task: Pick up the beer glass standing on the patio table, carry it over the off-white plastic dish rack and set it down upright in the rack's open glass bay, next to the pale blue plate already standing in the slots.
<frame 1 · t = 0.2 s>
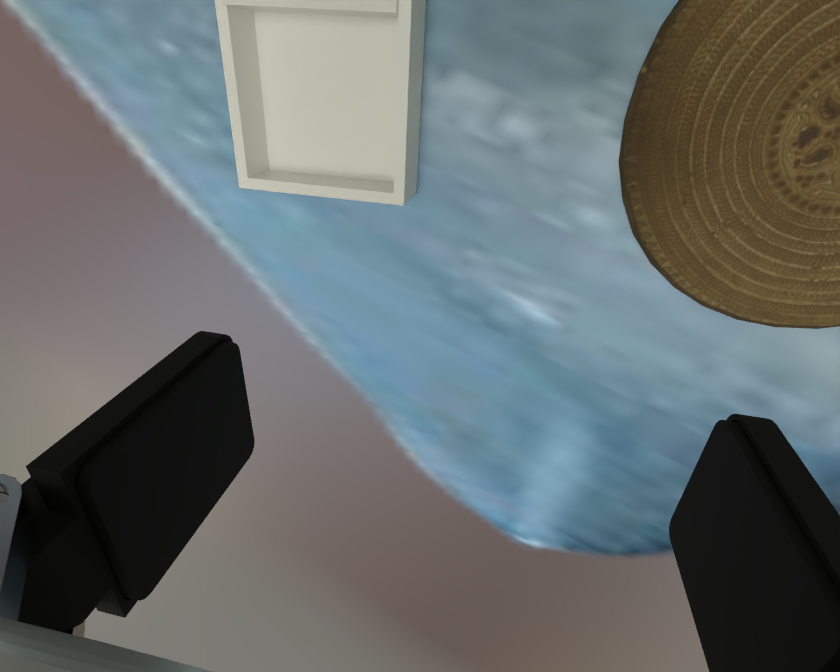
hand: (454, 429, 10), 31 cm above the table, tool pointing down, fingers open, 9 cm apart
rack: (335, 26, 34), on the table
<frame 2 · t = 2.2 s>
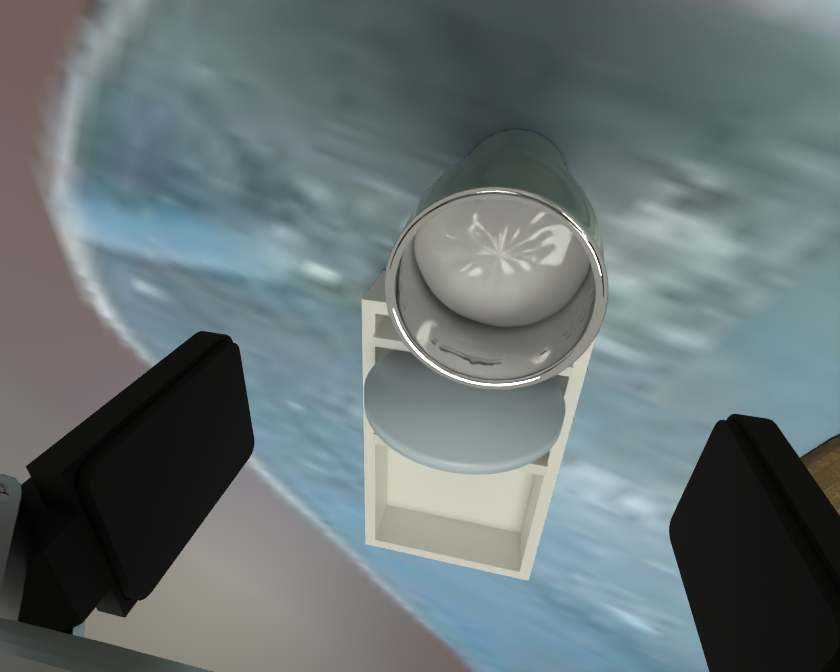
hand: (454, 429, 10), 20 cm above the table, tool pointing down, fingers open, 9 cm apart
beer glass: (512, 186, 27), on the table
rack: (465, 417, 35), on the table
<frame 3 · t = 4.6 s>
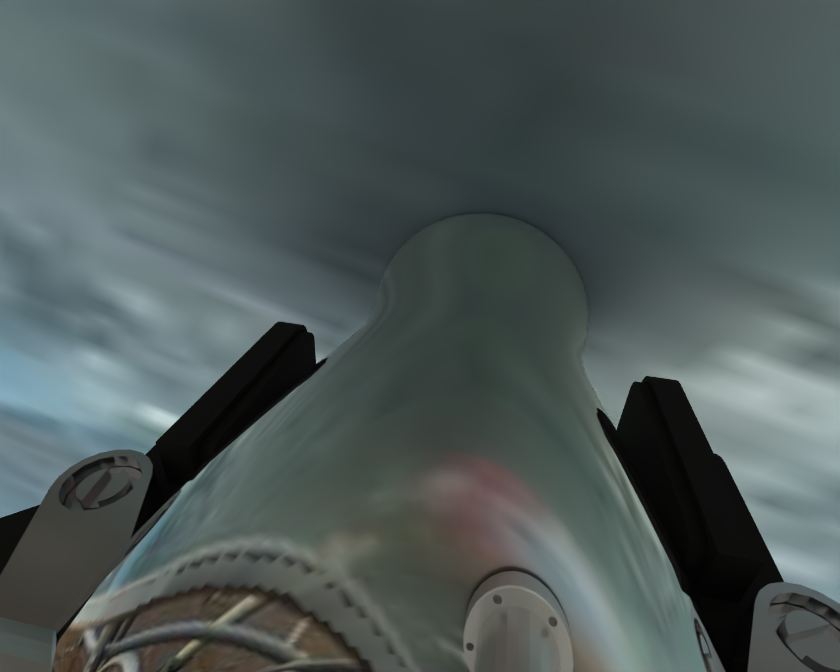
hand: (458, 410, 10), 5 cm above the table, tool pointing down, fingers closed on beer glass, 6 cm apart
beer glass: (479, 310, 14), on the table, touching gripper
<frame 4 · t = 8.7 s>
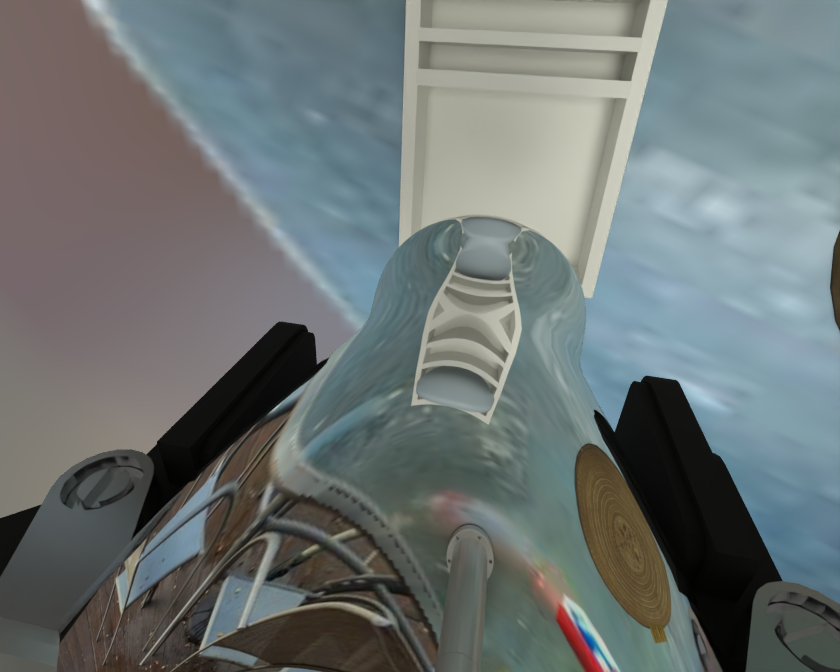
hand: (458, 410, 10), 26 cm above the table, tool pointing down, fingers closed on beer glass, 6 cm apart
beer glass: (477, 312, 14), point 21 cm above the table, touching gripper
rack: (518, 99, 30), on the table
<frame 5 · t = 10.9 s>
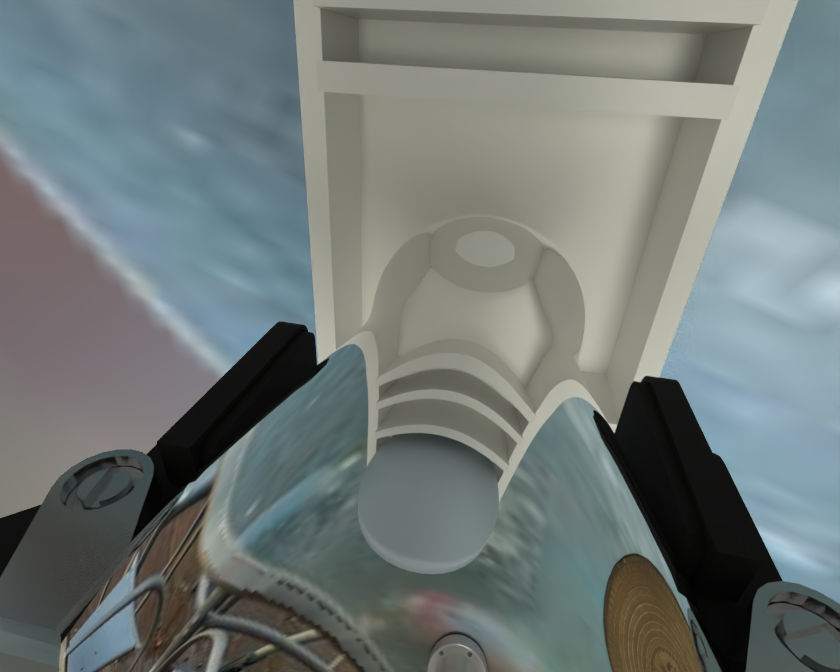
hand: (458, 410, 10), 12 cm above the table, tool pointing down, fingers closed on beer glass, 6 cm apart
beer glass: (477, 312, 14), point 7 cm above the table, touching gripper
rack: (512, 113, 18), on the table
when the fingers open (7 cm above the table, at t = 13.0 s): beer glass drops 1 cm, resting on rack.
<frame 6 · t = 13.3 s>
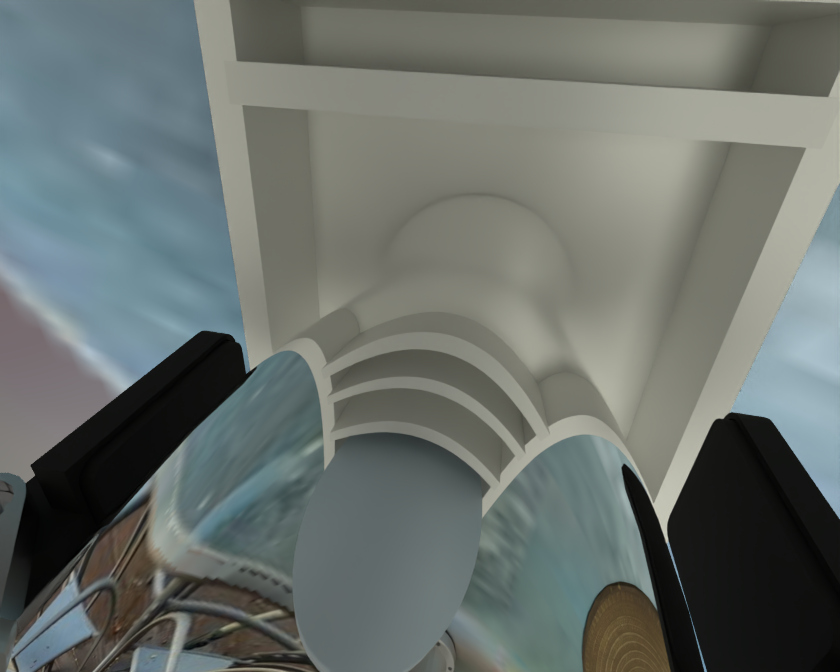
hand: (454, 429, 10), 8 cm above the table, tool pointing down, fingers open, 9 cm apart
beer glass: (474, 286, 15), point 1 cm above the table, touching rack
rack: (505, 130, 14), on the table
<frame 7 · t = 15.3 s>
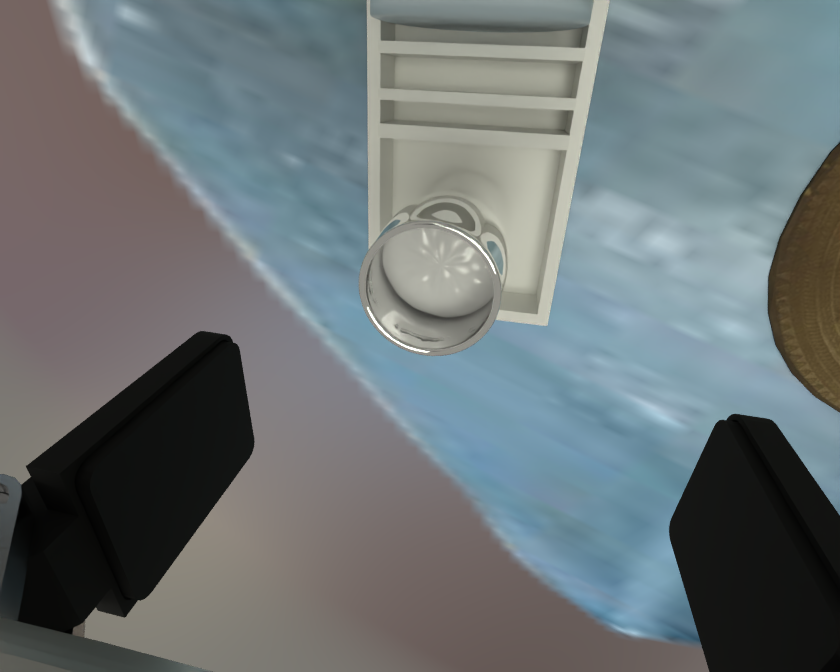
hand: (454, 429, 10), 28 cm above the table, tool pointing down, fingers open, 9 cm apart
beer glass: (464, 214, 35), point 1 cm above the table, touching rack
rack: (476, 145, 33), on the table
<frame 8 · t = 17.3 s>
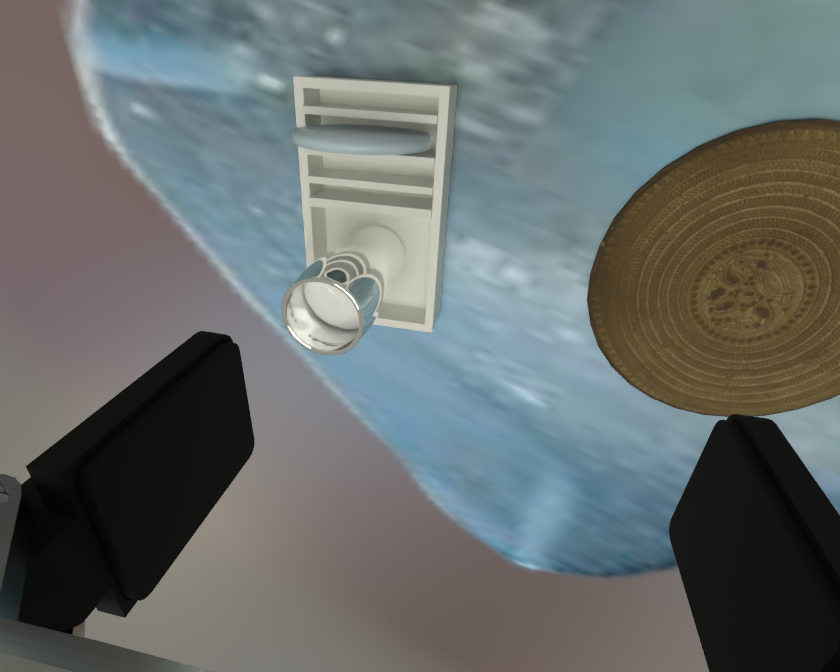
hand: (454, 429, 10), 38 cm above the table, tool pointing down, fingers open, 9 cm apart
decorative disc: (756, 286, 44), on the table
beer glass: (377, 252, 49), point 1 cm above the table, touching rack
rack: (383, 205, 47), on the table
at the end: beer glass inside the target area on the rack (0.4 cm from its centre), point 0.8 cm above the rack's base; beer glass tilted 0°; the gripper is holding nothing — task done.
